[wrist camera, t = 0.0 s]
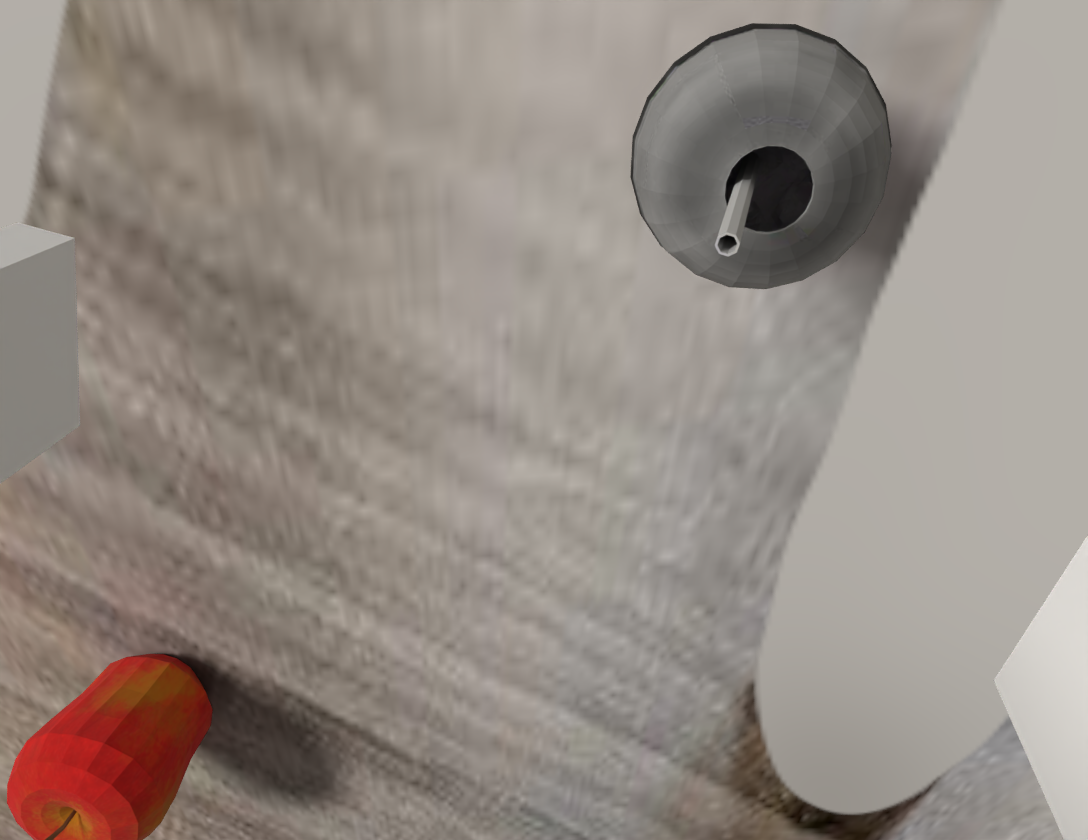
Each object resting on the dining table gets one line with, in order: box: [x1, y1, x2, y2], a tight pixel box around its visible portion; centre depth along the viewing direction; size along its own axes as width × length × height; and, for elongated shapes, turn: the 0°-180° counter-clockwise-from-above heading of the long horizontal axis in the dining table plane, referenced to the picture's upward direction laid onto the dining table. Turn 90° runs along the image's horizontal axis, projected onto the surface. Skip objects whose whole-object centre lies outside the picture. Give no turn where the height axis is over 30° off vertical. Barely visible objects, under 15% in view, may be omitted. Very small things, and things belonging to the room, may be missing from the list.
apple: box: [7, 654, 213, 840], centre depth 49 cm, size 9×8×12 cm
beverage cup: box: [631, 23, 891, 289], centre depth 26 cm, size 7×7×20 cm
